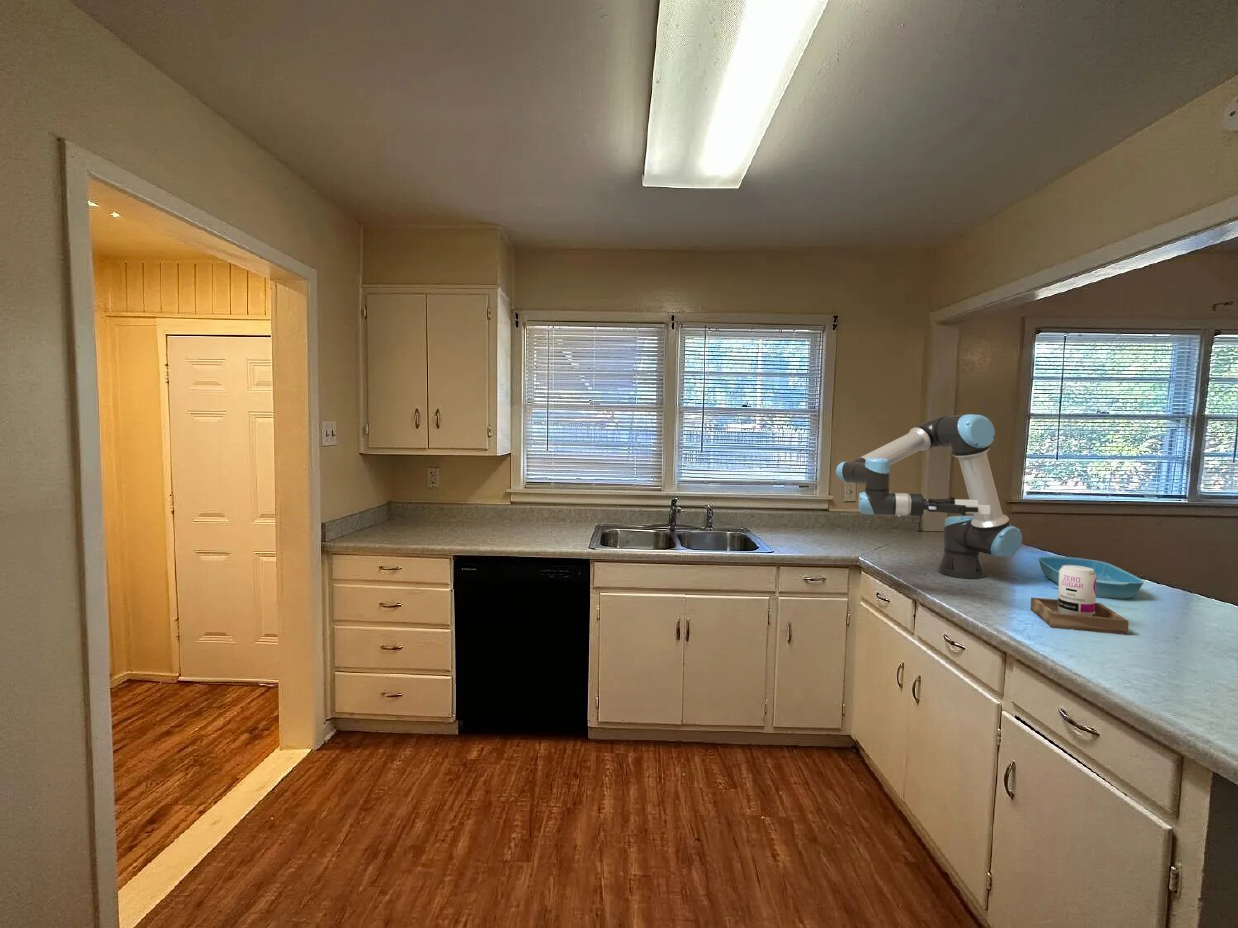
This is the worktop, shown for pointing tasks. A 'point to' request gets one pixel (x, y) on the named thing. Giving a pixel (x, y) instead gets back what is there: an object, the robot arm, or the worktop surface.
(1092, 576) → the supplement can
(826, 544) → the worktop surface
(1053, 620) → the walnut tray
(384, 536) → the worktop surface
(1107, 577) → the casserole dish
